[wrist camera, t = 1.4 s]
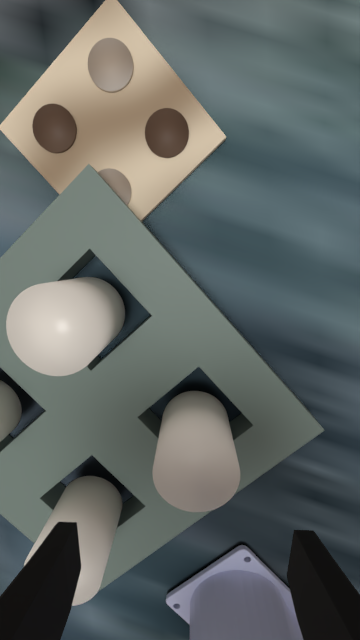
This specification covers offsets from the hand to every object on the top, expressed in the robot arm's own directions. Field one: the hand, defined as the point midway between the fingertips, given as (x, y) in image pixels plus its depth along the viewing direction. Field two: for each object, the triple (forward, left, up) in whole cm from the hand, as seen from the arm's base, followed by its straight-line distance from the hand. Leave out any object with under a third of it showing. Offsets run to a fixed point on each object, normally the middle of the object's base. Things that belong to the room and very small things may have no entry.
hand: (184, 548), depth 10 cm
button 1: (0, +9, -8) cm, 12 cm away
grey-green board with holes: (+4, +4, -10) cm, 12 cm away
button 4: (+9, 0, -8) cm, 12 cm away
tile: (+15, -8, -10) cm, 20 cm away
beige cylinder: (0, 0, -8) cm, 8 cm away
